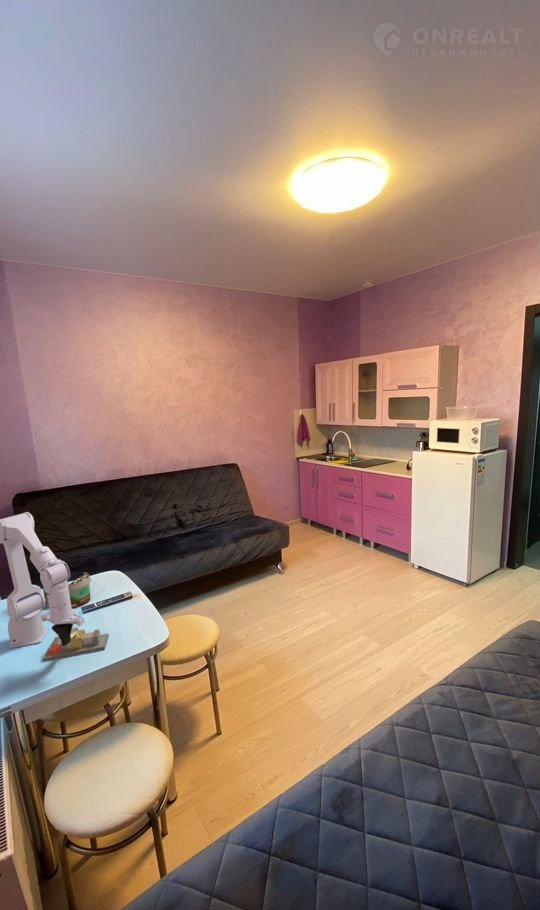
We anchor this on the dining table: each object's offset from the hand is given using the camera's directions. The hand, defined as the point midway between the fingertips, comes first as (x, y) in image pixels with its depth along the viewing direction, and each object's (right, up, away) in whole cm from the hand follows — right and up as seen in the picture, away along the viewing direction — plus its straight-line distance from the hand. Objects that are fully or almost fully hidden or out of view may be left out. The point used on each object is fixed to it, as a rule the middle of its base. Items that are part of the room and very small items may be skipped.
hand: (66, 643), depth 118 cm
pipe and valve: (0, -5, +7) cm, 9 cm away
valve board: (0, -5, +7) cm, 9 cm away
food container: (-12, -1, +36) cm, 38 cm away
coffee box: (-24, -2, +38) cm, 45 cm away
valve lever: (-1, -1, +1) cm, 2 cm away
